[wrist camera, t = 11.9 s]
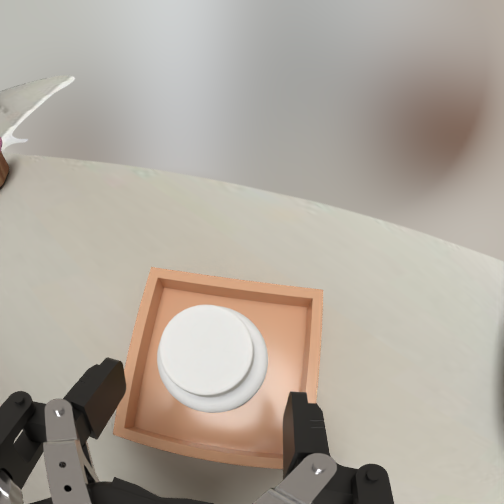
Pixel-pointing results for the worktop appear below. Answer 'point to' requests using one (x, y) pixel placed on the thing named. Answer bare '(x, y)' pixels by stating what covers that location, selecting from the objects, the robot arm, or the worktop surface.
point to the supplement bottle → (212, 358)
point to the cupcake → (3, 166)
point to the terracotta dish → (251, 413)
